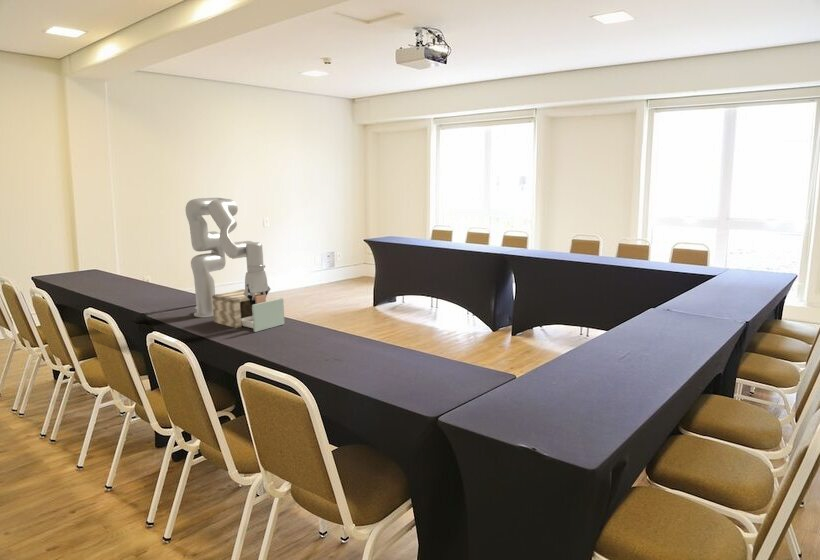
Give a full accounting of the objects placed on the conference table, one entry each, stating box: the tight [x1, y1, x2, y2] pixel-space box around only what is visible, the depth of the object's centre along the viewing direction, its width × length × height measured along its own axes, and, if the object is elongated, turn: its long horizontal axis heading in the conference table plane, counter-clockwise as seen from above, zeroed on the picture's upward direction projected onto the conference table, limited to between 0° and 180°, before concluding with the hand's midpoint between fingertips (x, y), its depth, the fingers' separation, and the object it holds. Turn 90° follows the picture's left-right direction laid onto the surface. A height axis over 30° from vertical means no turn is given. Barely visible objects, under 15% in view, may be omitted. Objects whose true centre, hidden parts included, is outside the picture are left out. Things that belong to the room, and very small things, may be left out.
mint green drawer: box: [241, 298, 285, 333], centre depth 273 cm, size 17×17×12 cm
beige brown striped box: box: [212, 288, 267, 329], centre depth 282 cm, size 18×18×14 cm
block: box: [254, 294, 267, 304], centre depth 272 cm, size 5×5×6 cm
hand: (258, 306), depth 272 cm, fingers closed on block, 4 cm apart
